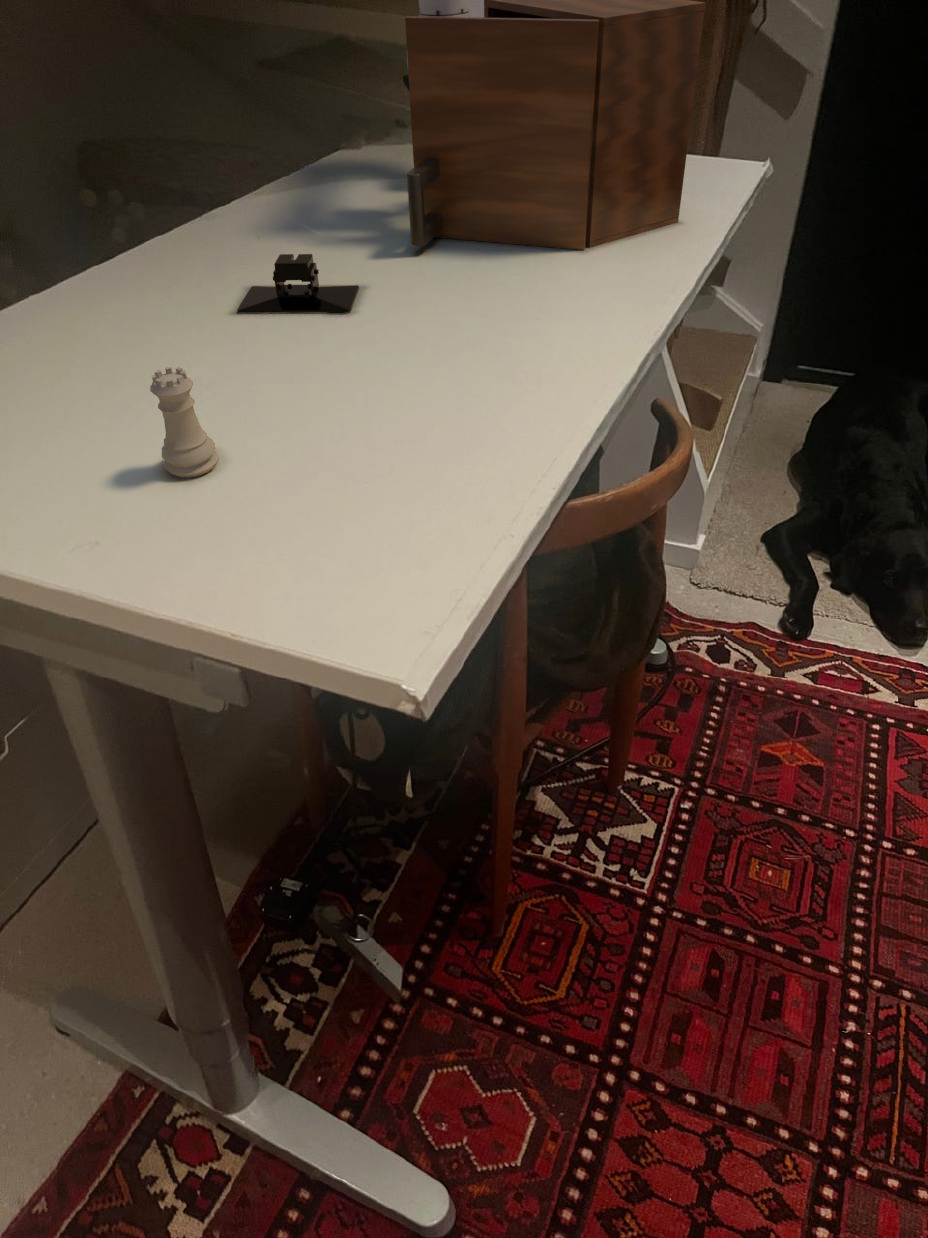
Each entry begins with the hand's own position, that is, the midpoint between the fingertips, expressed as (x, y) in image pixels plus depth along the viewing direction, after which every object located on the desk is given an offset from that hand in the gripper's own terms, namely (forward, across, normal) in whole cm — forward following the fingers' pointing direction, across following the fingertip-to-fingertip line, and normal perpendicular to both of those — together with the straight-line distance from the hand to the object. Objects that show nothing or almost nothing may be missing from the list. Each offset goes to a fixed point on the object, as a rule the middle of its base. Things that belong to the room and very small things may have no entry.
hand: (448, 142), depth 112 cm
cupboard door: (+9, +12, -3) cm, 16 cm away
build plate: (+10, +11, -28) cm, 32 cm away
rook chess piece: (+10, +37, -51) cm, 64 cm away
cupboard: (+10, +8, +15) cm, 20 cm away
